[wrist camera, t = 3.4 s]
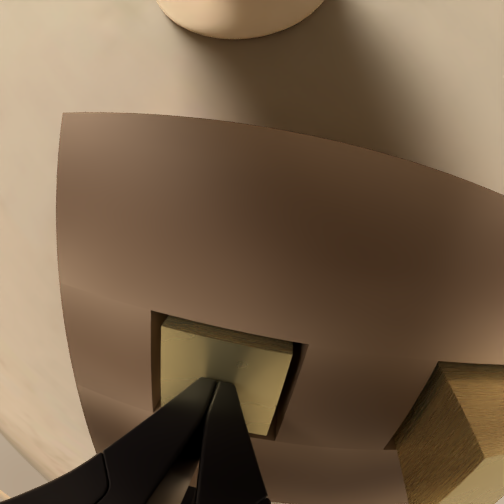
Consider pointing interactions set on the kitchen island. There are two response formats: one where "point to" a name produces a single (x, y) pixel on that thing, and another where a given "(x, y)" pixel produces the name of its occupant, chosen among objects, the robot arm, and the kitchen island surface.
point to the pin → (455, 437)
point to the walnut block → (274, 282)
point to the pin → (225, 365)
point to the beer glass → (237, 16)
